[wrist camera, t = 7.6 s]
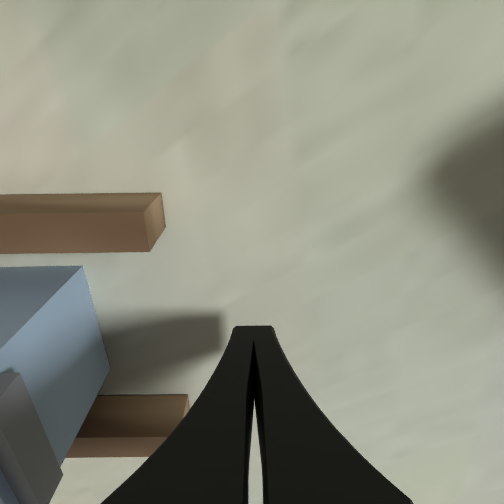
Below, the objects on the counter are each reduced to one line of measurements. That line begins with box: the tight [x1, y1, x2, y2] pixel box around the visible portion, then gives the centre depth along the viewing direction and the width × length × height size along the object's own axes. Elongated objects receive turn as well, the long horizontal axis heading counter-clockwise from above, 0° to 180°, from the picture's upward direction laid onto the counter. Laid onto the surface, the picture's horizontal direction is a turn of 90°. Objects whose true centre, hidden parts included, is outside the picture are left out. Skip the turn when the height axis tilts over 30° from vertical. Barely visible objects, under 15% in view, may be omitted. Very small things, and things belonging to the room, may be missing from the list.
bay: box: [0, 193, 190, 458], centre depth 12 cm, size 10×10×2 cm
